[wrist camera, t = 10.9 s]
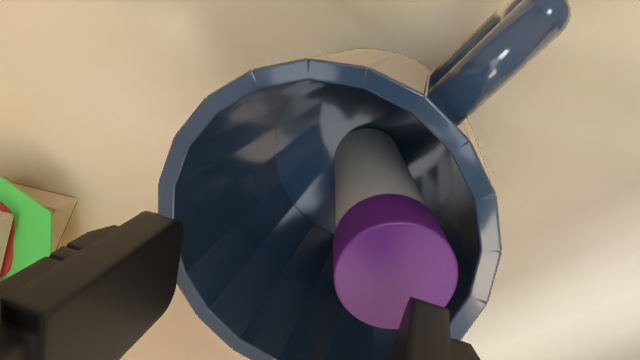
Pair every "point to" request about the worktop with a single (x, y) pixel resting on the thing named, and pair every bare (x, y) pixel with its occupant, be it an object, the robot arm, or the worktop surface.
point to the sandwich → (29, 225)
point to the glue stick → (385, 234)
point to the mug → (319, 183)
